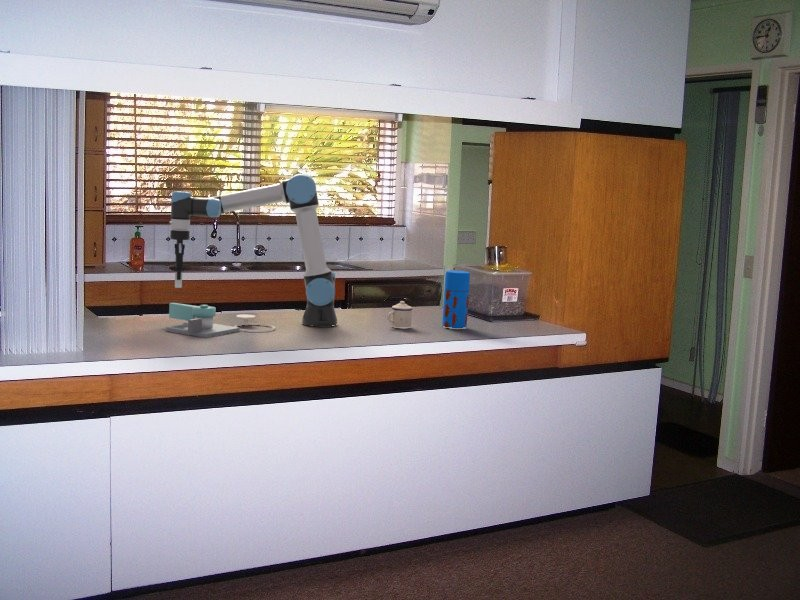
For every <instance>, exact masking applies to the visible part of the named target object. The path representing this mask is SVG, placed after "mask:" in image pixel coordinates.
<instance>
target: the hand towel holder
mask: <svg viewBox="0 0 800 600" xmlns="http://www.w3.org/2000/svg"><path fill="white" fill-rule="evenodd" d="M235 317H236V318H238V319H241V320H243V323H238V324H235V325H234V326H233V327H237V326H240V327H243V326H242V325H260V327H266V326H268V327H267V328H269V329H244V328H240V331H239V332H243V331H247V332H246V333H269V331H270V332H274V331H276V326H274V325H272V324H267V323H259V322H258V323H257V322H256V323H255V322H248V321H249V320H252V319H255V317H256V315H254V314H247V313H246V314H245V313H243V314H237V315H236V316H235ZM270 327H272V328H270ZM273 330H274V331H273Z"/></svg>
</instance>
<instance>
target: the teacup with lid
mask: <svg viewBox="0 0 800 600" xmlns="http://www.w3.org/2000/svg"><path fill="white" fill-rule="evenodd" d="M412 312H413V307H412V306H410V305H408V304H407V303H405V300H404V301H403V300H400V301H399V303H396V304H395V305H392V306H391V311H390V312H388V313H387V317H386V318H387V320H388V322H389V323H390V324H391V325H392V326H395V327H410V326H411V327H412V316H413V314H412ZM390 317H391V318H390Z"/></svg>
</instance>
